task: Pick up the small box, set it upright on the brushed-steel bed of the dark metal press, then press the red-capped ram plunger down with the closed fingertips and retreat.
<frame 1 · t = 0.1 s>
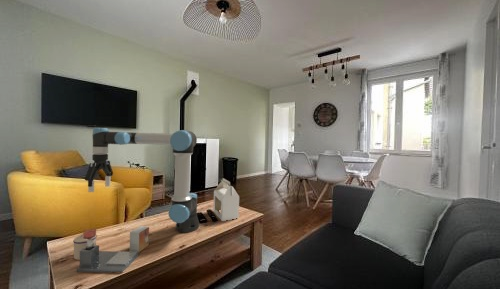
hand: (99, 189, 123), 28 cm above the table, fingers open, 13 cm apart
gable box: (225, 215, 162), on the table
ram: (89, 242, 94), point 11 cm above the table, slide at 0.0 cm
small box: (139, 248, 110), on the table
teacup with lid: (85, 254, 104), on the table
press: (110, 262, 97), on the table
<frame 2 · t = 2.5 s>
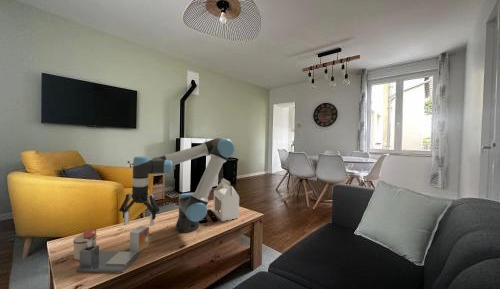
hand: (139, 224, 110), 13 cm above the table, fingers open, 13 cm apart
nothing on the table moved.
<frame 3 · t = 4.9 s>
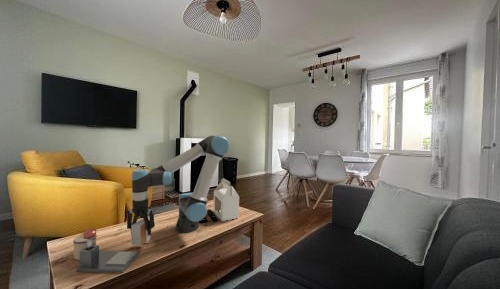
hand: (141, 240, 111), 4 cm above the table, fingers closed on small box, 6 cm apart
small box: (141, 241, 111), point 3 cm above the table, touching gripper
everything else where it was.
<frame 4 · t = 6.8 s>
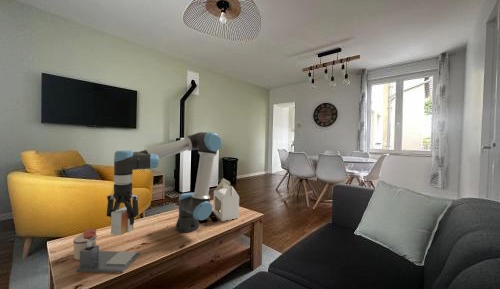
hand: (122, 230, 98), 15 cm above the table, fingers closed on small box, 6 cm apart
small box: (122, 231, 98), point 15 cm above the table, touching gripper
everything else where it was.
when the fingers open (3 cm above the table, at t = 9.1 s): small box drops 1 cm, resting on press.
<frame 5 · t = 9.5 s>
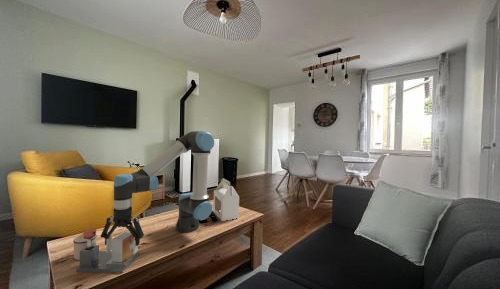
hand: (122, 251, 98), 5 cm above the table, fingers open, 12 cm apart
small box: (122, 257, 98), point 2 cm above the table, touching press
everything else where it was.
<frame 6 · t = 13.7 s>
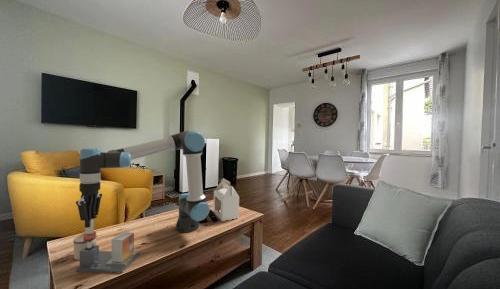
hand: (89, 233, 94), 16 cm above the table, fingers closed
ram: (89, 244, 94), point 10 cm above the table, slide at 1.1 cm, touching gripper
everything else where it was.
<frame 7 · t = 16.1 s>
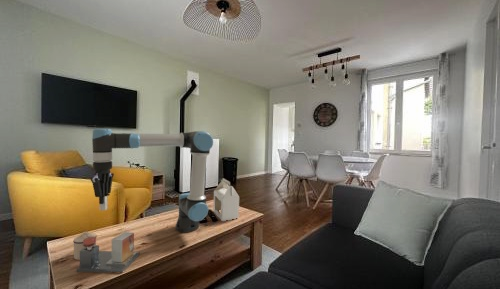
hand: (103, 209, 99), 25 cm above the table, fingers closed
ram: (89, 250, 94), point 8 cm above the table, slide at 3.6 cm
everything else where it was.
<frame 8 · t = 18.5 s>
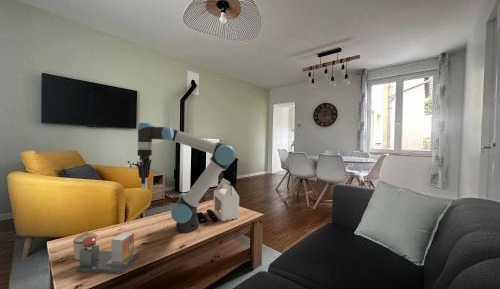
hand: (144, 188, 121), 29 cm above the table, fingers closed
nothing on the table moved.
at the end: small box inside the target area on the press (0.3 cm from its centre), point 1.9 cm above the press's base; small box tilted 0°; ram slide at 3.6 cm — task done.
